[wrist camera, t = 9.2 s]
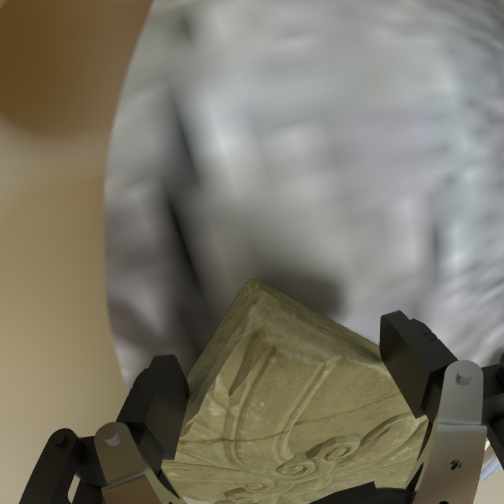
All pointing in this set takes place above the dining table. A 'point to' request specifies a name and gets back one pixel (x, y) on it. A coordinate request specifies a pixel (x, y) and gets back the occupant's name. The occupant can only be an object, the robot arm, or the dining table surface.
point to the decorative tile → (290, 409)
